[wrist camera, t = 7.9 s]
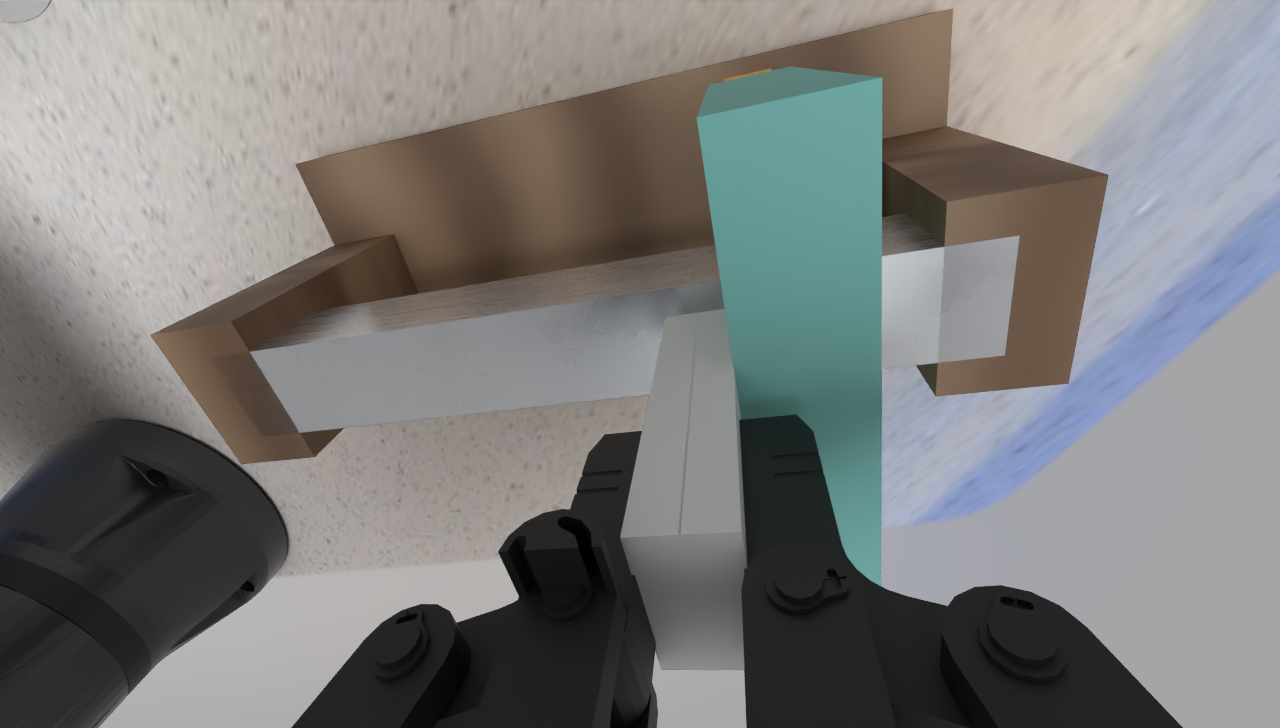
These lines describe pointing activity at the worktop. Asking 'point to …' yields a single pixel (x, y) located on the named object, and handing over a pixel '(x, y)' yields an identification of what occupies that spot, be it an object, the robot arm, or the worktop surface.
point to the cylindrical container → (21, 9)
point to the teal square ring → (806, 268)
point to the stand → (643, 217)
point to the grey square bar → (593, 333)
